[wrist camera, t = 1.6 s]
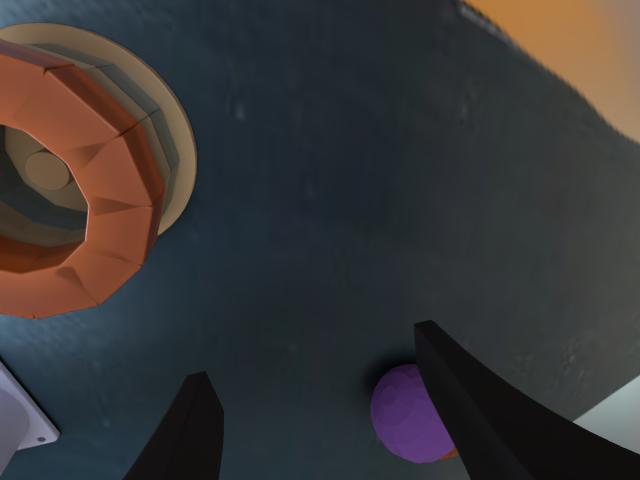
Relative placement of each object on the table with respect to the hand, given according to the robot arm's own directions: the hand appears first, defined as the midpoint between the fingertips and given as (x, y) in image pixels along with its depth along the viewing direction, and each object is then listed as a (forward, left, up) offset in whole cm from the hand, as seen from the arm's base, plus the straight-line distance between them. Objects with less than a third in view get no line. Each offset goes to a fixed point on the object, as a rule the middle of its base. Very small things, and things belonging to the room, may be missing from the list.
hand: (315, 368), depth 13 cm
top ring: (-9, +7, -5) cm, 12 cm away
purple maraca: (+9, -19, -10) cm, 23 cm away
